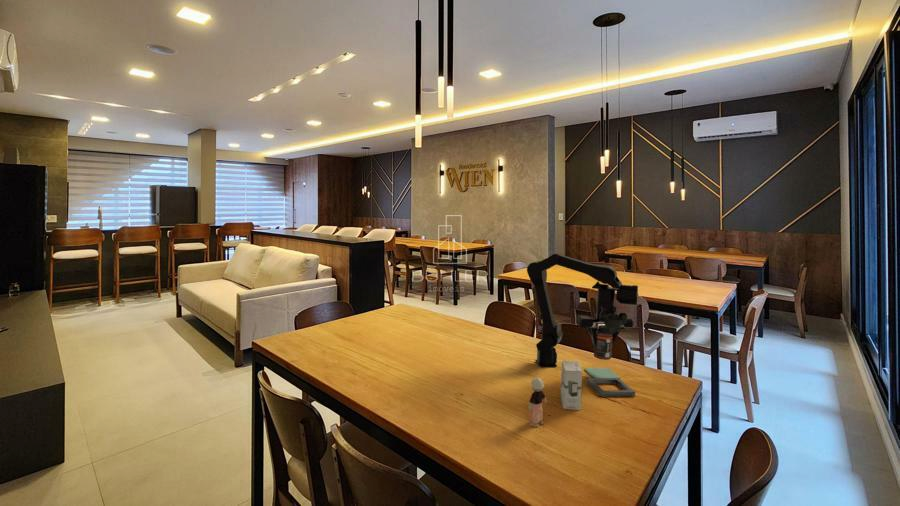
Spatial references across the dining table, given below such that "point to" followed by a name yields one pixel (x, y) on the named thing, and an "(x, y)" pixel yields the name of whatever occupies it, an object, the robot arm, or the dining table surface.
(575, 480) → the dining table surface
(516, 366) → the dining table surface
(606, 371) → the pad
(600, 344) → the supplement bottle
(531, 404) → the grandmother figurine
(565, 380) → the ink box
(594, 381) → the grey square frame
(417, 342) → the dining table surface
